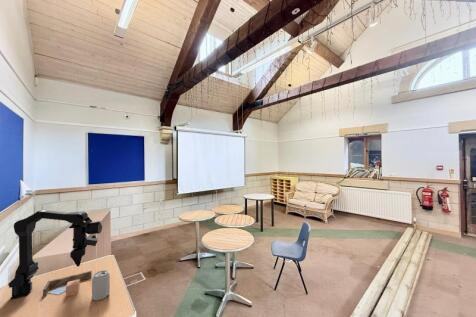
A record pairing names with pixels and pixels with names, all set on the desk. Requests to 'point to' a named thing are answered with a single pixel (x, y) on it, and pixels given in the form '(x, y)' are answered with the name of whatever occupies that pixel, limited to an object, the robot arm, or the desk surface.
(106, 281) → the can
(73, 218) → the robot arm
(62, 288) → the pad
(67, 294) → the cube
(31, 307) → the desk surface
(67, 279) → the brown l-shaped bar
